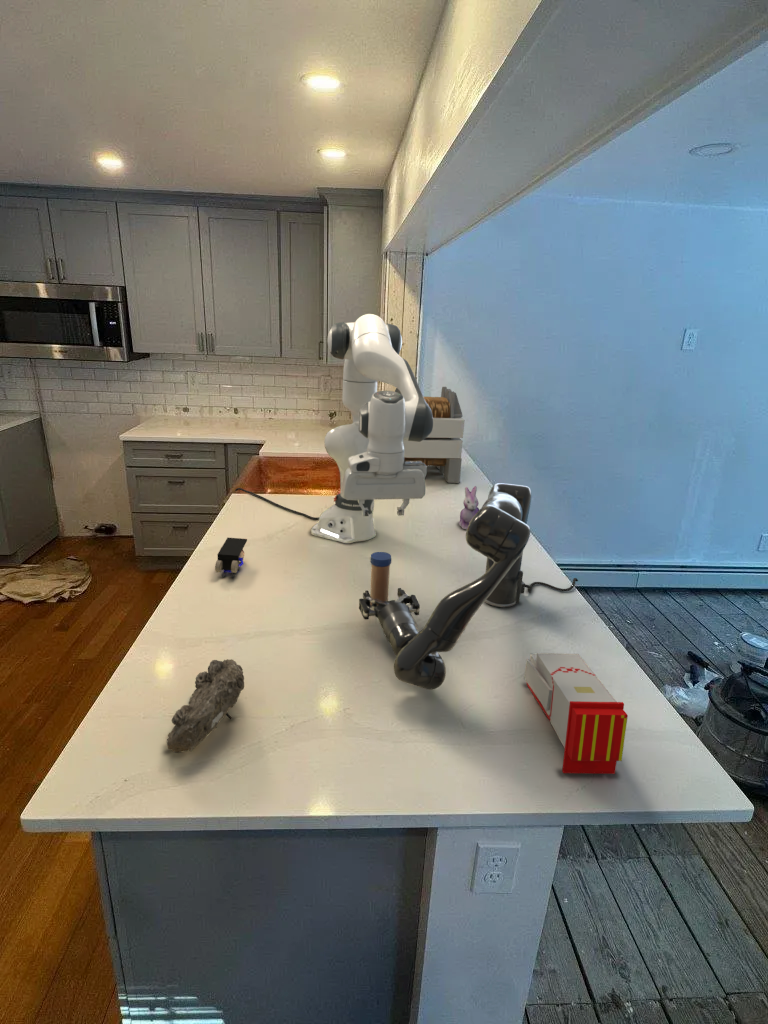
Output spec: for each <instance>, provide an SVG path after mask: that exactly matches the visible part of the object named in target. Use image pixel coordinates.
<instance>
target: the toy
mask: <svg viewBox="0 0 768 1024" xmlns="http://www.w3.org/2000/svg"><path fill="white" fill-rule="evenodd" d="M523 679H524V681H525V682H526V686H527V688H528V689H529V691H530V693H531V694H532V695H533V697H534V699H535V701H536V702H537V704H538V705H539V706H540V708H541V710H542V711H543V713H544V715H545V717H546V718H547V719H548V721H550V722H549V723H550V725H551V727H552V728H553V730H554V732H555V733H556V735H557V737H558V739H559V741H560V743H561V744H562V745H563V748H564V750H563V751H564V752H563V761H562V769H561V771H562V774H595V775H596V774H597V775H598V774H599V775H600V774H601V775H606V774H607V775H608V774H609V775H615V774H616V770H617V762H622V760H623V755H624V754H623V753H624V746H625V738H626V732H627V725H628V723H627V722H628V713H627V712H626V711H625V710H624V708H625V703H624V702H623V701H617V700H616V698H614V696H613V695H612V694H611V693H610V691H609V690H608V689H607V687H606V686H605V685H604V683H602V681H601V679H599V678H598V676H597V675H596V674H595V672H594V671H593V670H592V669H591V668H590V666H589V665H588V664H587V663H586V661H585V660H584V659H583V658H582V657H581V655H580V654H579V653H552V652H551V653H546V652H537V653H530V654H529V659H528V658H527V659H526V661H525V668H524V674H523Z"/></svg>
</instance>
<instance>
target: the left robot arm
mask: <svg viewBox="0 0 768 1024" xmlns="http://www.w3.org/2000/svg"><path fill="white" fill-rule="evenodd" d="M402 346H403V337H402V333H401V330H400V328H399V327H398V326H397V325H396V324H391V323H385V321H384V320H383V318H381V316H379V315H377V314H373V313H365V314H362V315H360V316H359V317H357V319H356V320H355V321H353V322H345V321H342V322H336V323H334V324H333V325H332V326H330V330H329V332H328V334H327V347H328V349H329V353H330V355H331V356H332V357H333V358H334V359H338V360H344V361H343V370H342V394H341V395H342V397H341V398H342V399H341V401H342V405H343V406H344V408H345V409H347V410H348V411H349V412H350V414H351V417H352V423H347V424H341V425H338V426H336V427H334V428H331V429H330V430H329V431H327V432H326V434H325V436H324V439H323V440H324V441H323V444H324V449H325V451H326V453H327V455H328V456H329V457H330V458H332V459H333V460H334V462H335V463H336V465H337V468H338V471H339V478H340V480H339V481H340V484H339V485H340V488H339V489H340V490H339V491H338V492H337V494H336V495H335V496H334V497H333V502H334V504H333V505H331V506H329V507H328V508H326V509H325V510H323V512H321V514H320V515H319V516H318V517H314V516H310V515H308V514H306V513H304V512H300V511H296V510H294V509H291V508H288V507H286V506H283V505H281V504H278V503H277V502H274V501H272V500H270V499H269V498H266V497H264V496H262V495H259V494H257V493H255V492H252V491H249V490H246V489H244V488H242V487H237V488H236V489H234V492H237V491H242V492H245V493H246V494H250V495H253V496H255V497H256V498H259V499H262V500H263V501H265V502H268V503H270V504H272V505H274V506H276V507H279V508H281V509H283V510H286V511H288V512H291V513H294V514H297V515H299V516H303V517H305V518H308V519H310V520H315V521H317V520H318V521H317V523H315V524H314V525H313V526H312V528H311V530H310V533H311V536H315V537H319V538H323V539H326V540H330V541H336V542H339V543H343V544H352V543H357V542H365V541H368V540H372V539H373V538H375V537H376V535H377V532H376V528H375V523H374V513H373V512H374V509H375V501H376V500H402V503H401V504H400V506H397V507H396V514H397V516H402V517H403V516H405V510H406V509H407V507H408V505H409V504H410V501H411V500H415V499H416V500H419V499H423V498H424V497H425V496H426V479H425V478H426V476H427V473H428V466H426V465H425V464H424V463H422V462H421V461H404V444H403V440H408V441H415V442H421V441H422V440H424V439H425V438H426V437H427V436H428V435H429V434H430V433H431V432H432V429H433V415H432V411H431V409H430V407H429V405H428V404H427V403H426V401H425V399H424V397H425V396H424V395H423V393H422V391H421V388H420V386H419V383H418V381H417V379H416V376H415V374H414V371H413V369H412V368H411V365H410V364H409V362H408V360H407V359H405V358H403V357H402V356H401V355H400V352H401V349H402ZM378 382H381V383H384V384H388V385H390V386H393V387H395V389H396V388H398V389H399V390H400V392H401V394H402V395H401V394H399V393H397V392H395V390H394V391H393V390H379V391H378ZM421 464H422V465H421Z"/></svg>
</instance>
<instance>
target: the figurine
mask: <svg viewBox="0 0 768 1024" xmlns="http://www.w3.org/2000/svg"><path fill="white" fill-rule="evenodd" d="M477 490H478V488H477V486H476V485H475V486H473V488H472V489H471V491H470V489H469V487H468V486H465V487H464V494H465V495H464V496H465V497H464V499H463V502H462V503H463V507H464V508H463V509H462V510H461V511H460V514H459V522H458V525H459V526H460V527H461V529H463V530H467V528H468V525H469V523H470V521H471V520H472V518H473V517H474V515H475V514H476V513H477V512H478V511H479V510H480V508H479V507H478V506H479V500H478V497H477V492H478V491H477Z"/></svg>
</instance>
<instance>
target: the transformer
mask: <svg viewBox="0 0 768 1024" xmlns="http://www.w3.org/2000/svg"><path fill="white" fill-rule="evenodd" d="M394 392H397V393H399V394H401V392H400V390H399V389H398V388H396V387H395V390H394ZM440 393H441V394H440V396H423V397H424V399H425V401H426V403H427V404H428V405H429V407H430V409H431V411H432V415H433V429H432V432H431V433H430V434H429V435H428V436H427V437H426V438H425V439H424V440H422V441H421V442H415V441H408V440H403V444H404V461H421V462H422V463H424V464H425V465H426V467H436V468H437V470H438V469H439V473H440V474H441V475H443V478H444V479H445V481H446V482H447V483H449V484H455V483H456V484H459V483H461V472H462V461H463V460H462V453H463V442H464V441H463V440H462V439H463V438H464V431H465V430H464V429H465V419H464V418H463V411H462V408H461V405H460V402H459V398H458V395H457V392H455V391H453V390H452V389H451V388H447V386H442V387H441V392H440ZM401 395H402V394H401ZM421 465H422V464H421Z"/></svg>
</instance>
